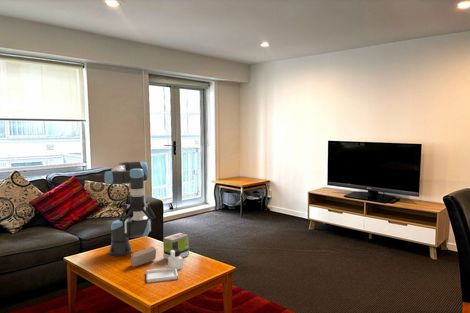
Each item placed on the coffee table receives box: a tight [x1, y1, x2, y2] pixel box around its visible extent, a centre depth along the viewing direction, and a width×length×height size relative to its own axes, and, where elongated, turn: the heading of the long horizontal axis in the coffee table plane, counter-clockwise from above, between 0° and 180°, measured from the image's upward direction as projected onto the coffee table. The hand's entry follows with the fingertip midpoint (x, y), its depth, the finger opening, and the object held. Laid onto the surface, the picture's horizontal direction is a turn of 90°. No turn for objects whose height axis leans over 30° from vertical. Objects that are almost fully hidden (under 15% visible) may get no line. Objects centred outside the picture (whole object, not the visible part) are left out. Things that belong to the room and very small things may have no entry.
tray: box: [145, 267, 179, 284], centre depth 206 cm, size 14×18×2 cm
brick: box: [130, 246, 157, 268], centre depth 225 cm, size 17×8×5 cm
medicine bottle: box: [167, 249, 184, 271], centre depth 218 cm, size 7×7×12 cm
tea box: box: [162, 232, 190, 260], centre depth 237 cm, size 15×10×15 cm, turn 141°
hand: (138, 231), depth 199 cm, fingers open, 13 cm apart
